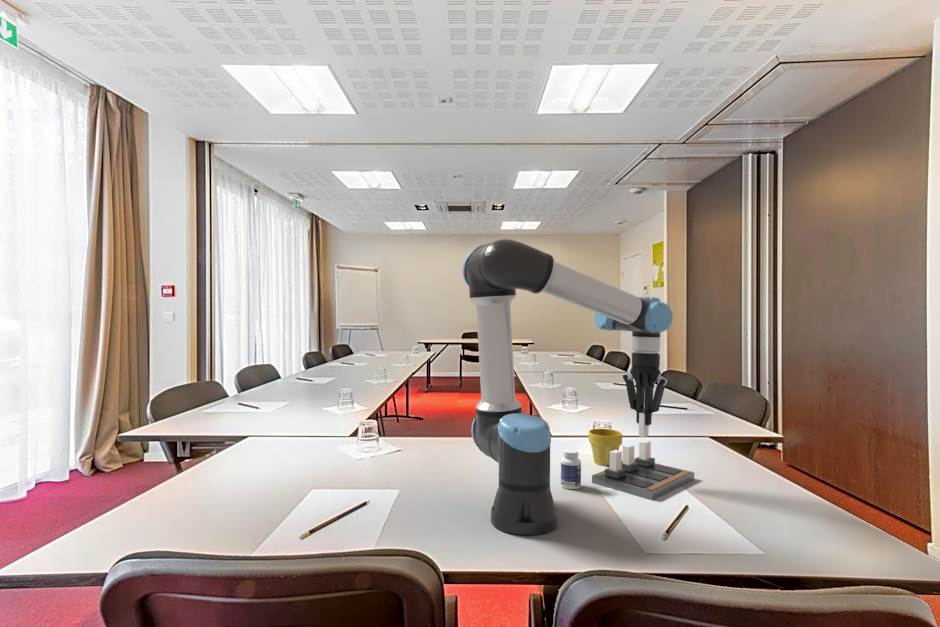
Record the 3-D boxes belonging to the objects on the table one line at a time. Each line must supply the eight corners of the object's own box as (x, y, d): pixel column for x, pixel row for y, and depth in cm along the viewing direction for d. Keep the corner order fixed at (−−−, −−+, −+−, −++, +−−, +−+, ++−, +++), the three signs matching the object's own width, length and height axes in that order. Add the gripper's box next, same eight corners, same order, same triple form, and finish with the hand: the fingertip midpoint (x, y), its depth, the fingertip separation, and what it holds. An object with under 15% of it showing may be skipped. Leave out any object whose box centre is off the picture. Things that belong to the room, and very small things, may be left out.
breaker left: (617, 478, 138) (617, 454, 138) (604, 475, 141) (604, 451, 141) (626, 475, 141) (626, 451, 141) (613, 471, 144) (613, 448, 144)
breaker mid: (630, 471, 144) (630, 448, 144) (618, 468, 147) (618, 445, 147) (638, 468, 147) (638, 445, 147) (626, 465, 150) (626, 443, 150)
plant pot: (626, 468, 156) (626, 436, 156) (592, 467, 156) (592, 435, 156) (617, 458, 166) (617, 428, 166) (585, 458, 166) (585, 428, 166)
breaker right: (647, 466, 149) (647, 444, 149) (634, 463, 152) (635, 441, 152) (654, 463, 152) (654, 441, 152) (642, 460, 155) (642, 439, 155)
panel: (652, 500, 129) (652, 491, 129) (591, 482, 142) (591, 474, 142) (694, 479, 145) (694, 471, 145) (636, 465, 159) (636, 458, 159)
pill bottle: (581, 490, 136) (581, 454, 136) (560, 489, 137) (560, 453, 137) (580, 484, 141) (580, 448, 141) (561, 482, 142) (561, 447, 142)
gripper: (674, 353, 141) (672, 438, 141) (631, 350, 151) (629, 430, 151) (661, 354, 136) (658, 442, 136) (617, 350, 146) (615, 433, 146)
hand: (643, 435), depth 143 cm, fingers closed
